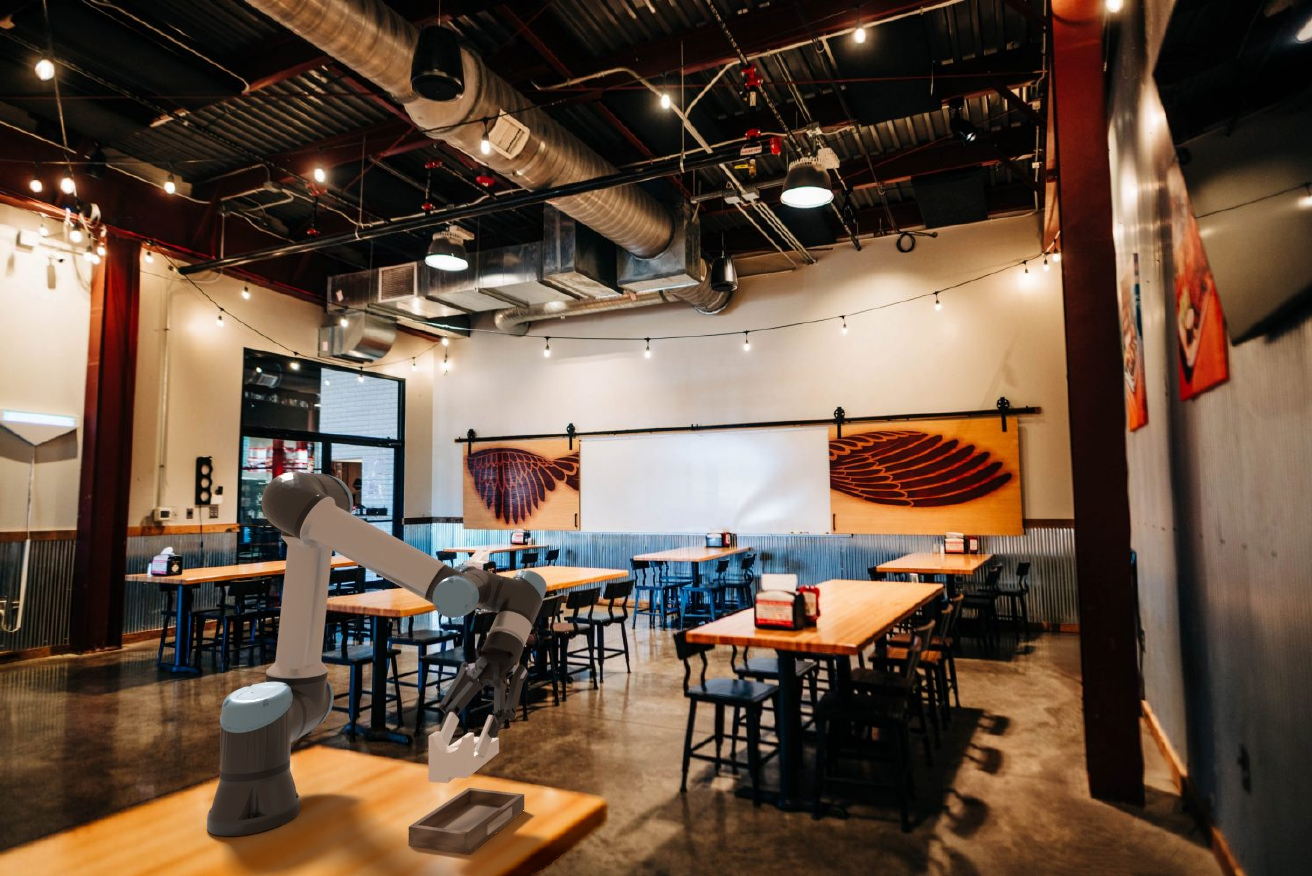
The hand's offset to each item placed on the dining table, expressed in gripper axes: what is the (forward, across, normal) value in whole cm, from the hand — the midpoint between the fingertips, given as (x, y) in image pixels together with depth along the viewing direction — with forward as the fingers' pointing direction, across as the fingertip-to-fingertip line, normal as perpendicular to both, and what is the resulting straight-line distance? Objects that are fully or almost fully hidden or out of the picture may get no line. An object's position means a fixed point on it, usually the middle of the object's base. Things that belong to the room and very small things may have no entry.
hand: (459, 751), depth 129 cm
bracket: (+1, 0, -4) cm, 4 cm away
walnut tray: (+8, 0, -12) cm, 14 cm away
